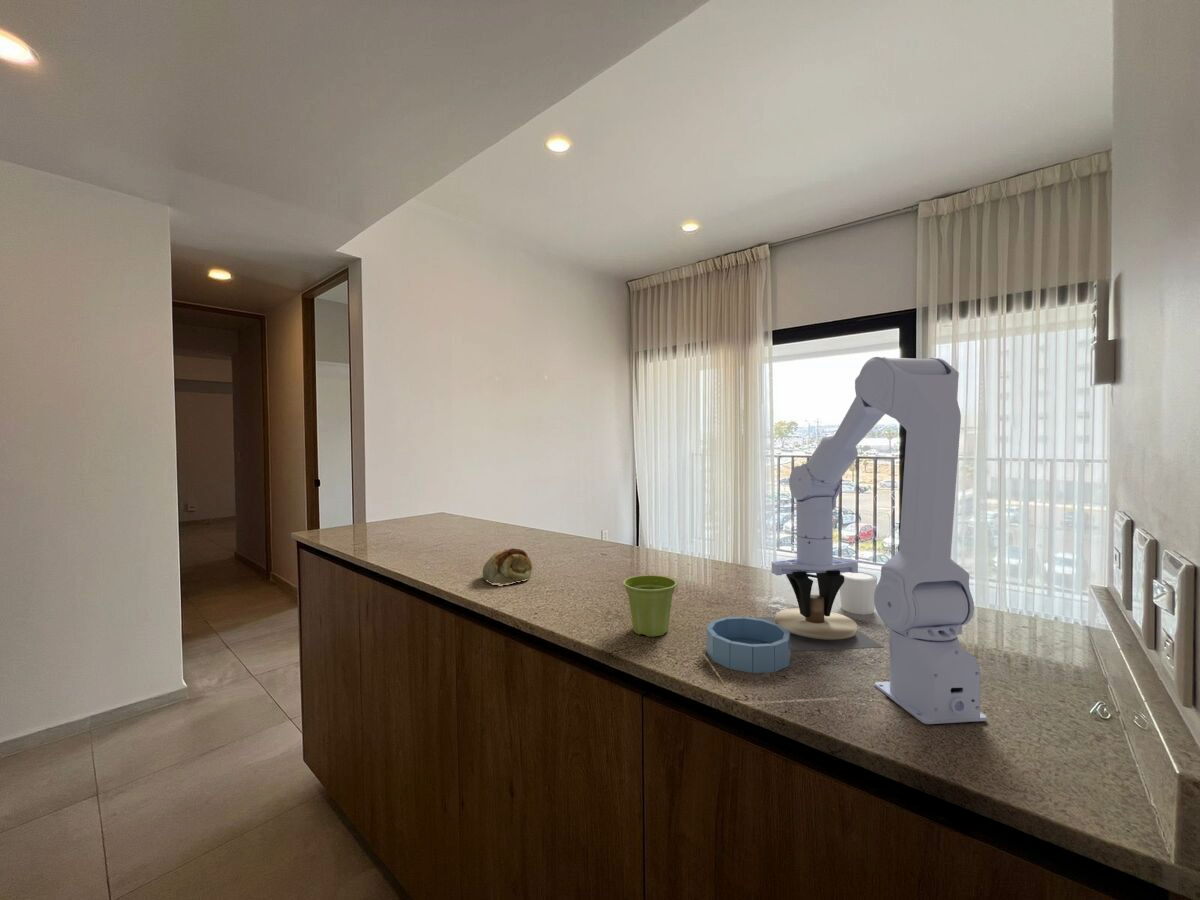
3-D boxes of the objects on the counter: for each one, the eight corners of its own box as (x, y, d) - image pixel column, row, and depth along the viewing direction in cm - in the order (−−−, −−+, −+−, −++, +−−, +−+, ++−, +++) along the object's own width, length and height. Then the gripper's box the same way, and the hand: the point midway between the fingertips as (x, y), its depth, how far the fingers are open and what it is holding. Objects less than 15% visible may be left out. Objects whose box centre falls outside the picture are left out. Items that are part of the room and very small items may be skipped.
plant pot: (634, 644, 82) (633, 591, 82) (616, 624, 91) (616, 577, 91) (686, 637, 85) (685, 586, 84) (664, 619, 94) (664, 573, 94)
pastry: (512, 589, 114) (512, 554, 114) (469, 583, 119) (468, 550, 119) (544, 574, 127) (544, 543, 127) (504, 570, 132) (504, 539, 132)
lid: (874, 637, 80) (874, 607, 80) (796, 641, 79) (796, 611, 79) (830, 610, 93) (830, 585, 93) (762, 613, 92) (762, 587, 92)
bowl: (804, 672, 71) (804, 644, 71) (722, 676, 70) (722, 647, 70) (769, 639, 83) (769, 615, 83) (698, 642, 82) (698, 618, 82)
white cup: (882, 617, 93) (882, 580, 93) (843, 615, 95) (843, 578, 95) (870, 606, 100) (870, 571, 100) (833, 604, 101) (833, 569, 101)
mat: (884, 648, 79) (884, 646, 79) (793, 652, 78) (793, 650, 78) (832, 616, 94) (832, 614, 94) (755, 619, 93) (755, 617, 93)
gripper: (841, 531, 91) (841, 605, 91) (764, 533, 89) (764, 608, 89) (865, 538, 84) (865, 619, 84) (781, 540, 82) (782, 622, 82)
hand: (814, 614), depth 86 cm, fingers closed on lid, 3 cm apart
